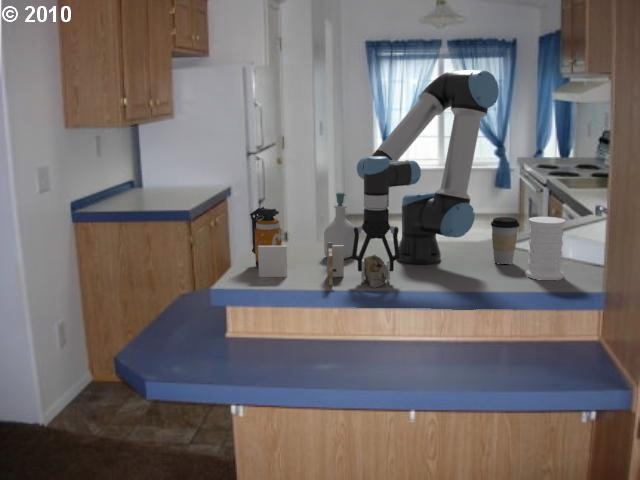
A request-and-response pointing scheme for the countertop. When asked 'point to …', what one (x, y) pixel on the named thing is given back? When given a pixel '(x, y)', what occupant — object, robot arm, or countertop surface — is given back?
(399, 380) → the countertop surface
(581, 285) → the countertop surface
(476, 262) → the countertop surface
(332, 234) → the soap bottle
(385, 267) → the rock
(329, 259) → the door
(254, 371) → the countertop surface
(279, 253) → the wall
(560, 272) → the decorative container
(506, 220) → the coffee cup
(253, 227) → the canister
